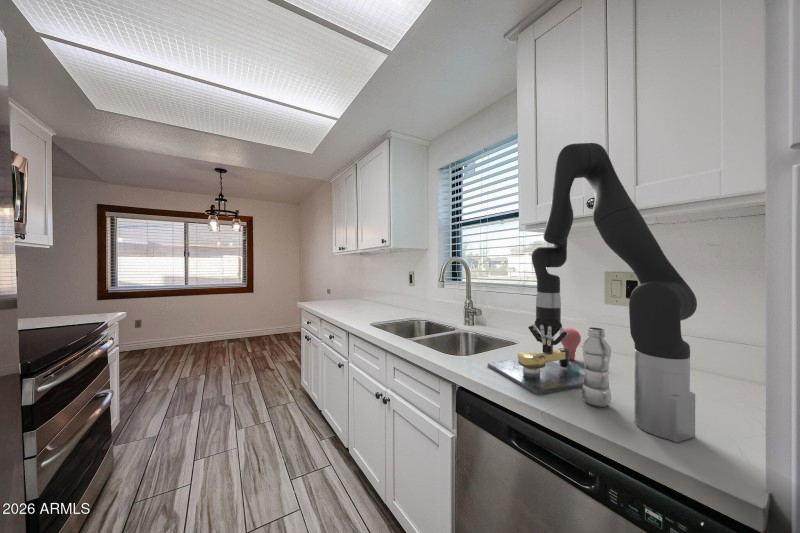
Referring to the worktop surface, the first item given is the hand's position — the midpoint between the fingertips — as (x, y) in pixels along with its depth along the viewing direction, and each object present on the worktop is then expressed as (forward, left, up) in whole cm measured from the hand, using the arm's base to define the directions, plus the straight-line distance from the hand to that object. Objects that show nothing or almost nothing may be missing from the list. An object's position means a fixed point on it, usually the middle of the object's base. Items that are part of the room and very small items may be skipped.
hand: (547, 355), depth 99 cm
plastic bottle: (-22, +5, -6) cm, 23 cm away
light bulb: (+7, -18, -6) cm, 20 cm away
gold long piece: (-4, +5, -3) cm, 6 cm away
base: (-1, +5, -6) cm, 8 cm away
